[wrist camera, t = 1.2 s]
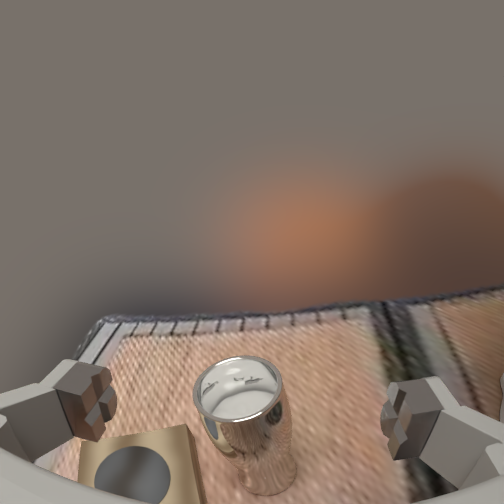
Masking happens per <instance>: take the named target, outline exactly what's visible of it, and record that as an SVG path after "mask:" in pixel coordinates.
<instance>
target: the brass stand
mask: <svg viewBox="0 0 504 504" xmlns="http://www.w3.org/2000/svg"><path fill="white" fill-rule="evenodd" d="M78 483H81V484H84V485H87V486H90V487H93V488H96V489H99V490H102V491H105V492H109V493H112V494H115V495H119V496H123V497H126V498H130V499H134V500H138V501H142V502H146V503H151V504H207V500H206V496H205V491H204V487H203V482H202V477H201V472H200V467H199V462H198V456H197V451H196V445H195V440H194V436H193V435H192V433H191V431H190V430H189V428H188V426H187V425H186V424H182V425H178V426H173V427H169V428H164V429H159V430H154V431H149V432H143V433H137V434H132V435H125V436H119V437H112V438H105V439H99V441H98V443H97V442H93V441H81V450H80V459H79V470H78Z"/></svg>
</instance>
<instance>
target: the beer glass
mask: <svg viewBox="0 0 504 504" xmlns="http://www.w3.org/2000/svg"><path fill="white" fill-rule="evenodd" d="M193 401H194V404H195V406H196V408H197V410H198V413H199V416H200V419H201V421H202V424H203V426H204V428H205V430H206V432H207V434H208V436H209V438H210V440H211V441H212V443H213V444H214V446H215V447H216V449H217V450H218V451H219V452H220V453H221V454H222V455H223V456H224V457H225V458H226V459H227V460H228V461H229V462H230V463H231V464H232V465H234V466H235V467H236V468H237V469H238V476H239V480H240V482H241V484H242V485H243V487H244V488H245V489H246V490H248V491H249V492H251V493H253V494H256V495H260V496H271V495H275V494H278V493H281V492H283V491H284V490H286V489H287V488H288V487H289V486H290V485H291V484H292V483H293V481H294V479H295V477H296V473H297V467H296V463H295V461H294V459H293V457H292V456H291V454H290V453H289V451H290V445H291V438H292V415H291V409H290V405H289V401H288V397H287V394H286V391H285V388H284V385H283V382H282V377H281V374H280V372H279V370H278V369H277V368H276V367H275V366H274V365H273V364H272V363H271V362H269V361H267V360H265V359H263V358H260V357H255V356H235V357H230V358H227V359H224V360H221V361H219V362H217V363H215V364H213V365H211V366H210V367H209V368H207V369H206V370H205V371H204V372H203V373H202V374H201V375H200V376H199V378H198V379H197V381H196V383H195V385H194V388H193Z"/></svg>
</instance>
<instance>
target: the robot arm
mask: <svg viewBox="0 0 504 504" xmlns="http://www.w3.org/2000/svg"><path fill="white" fill-rule="evenodd" d="M112 380H113V379H112V376H111V372H110V370H109V369H108V368H106V367H101V366H97V365H92V364H88V363H83V362H79V361H74V360H70V359H66V360H63V361H62V362H61V363H60V364H59V365H58V366H57V367H56V368H55V369H54V370H53V371H52V372H51V373H50V374H49V375H47V377H45V378H44V379H43V381H42V382H40V383H39V384H37V383H34V384H31V385H27V386H25V387H21V388H18V389H15V390H12V391H8V392H5V393H2V394H0V504H151V503H146V502H142V501H138V500H134V499H130V498H126V497H123V496H119V495H115V494H112V493H109V492H105V491H102V490H99V489H96V488H93V487H90V486H87V485H84V484H81V483H78V482H76V481H73V480H70V479H68V478H65V477H63V476H60V475H58V474H55V473H53V472H50V471H48V470H46V469H43V468H41V467H39V466H37V465H35V464H32V463H31V462H32V461H34V460H36V459H37V458H39V457H41V456H43V455H44V454H46V453H48V452H50V451H51V450H53V449H55V448H57V447H58V446H60V445H62V444H64V443H65V442H67V441H69V440H70V439H72V438H74V436H75V437H78V438H82V439H86V440H89V441H93V442H97V443H98V441H99V439H100V438H101V436H102V435H103V433H104V431H105V430H106V427H105V422H108V421H110V420H112V418H113V416H114V415H115V412H116V408H117V396H116V392H115V390H114V389H113V388H112V387H111V386H110V383H111V381H112ZM500 383H501V388H502V392H503V399H502V403H501V408H500V422H499V421H497V420H494V419H492V418H490V417H488V416H486V415H484V414H481V413H479V412H477V411H475V410H473V409H471V408H468V407H466V406H460V405H459V404H458V402H457V401H456V400H455V398H454V397H453V395H452V394H451V393H450V391H449V390H448V389H447V387H446V386H445V384H444V383H443V382H442V380H441V379H440V378H439V377H437V376H434V377H428V378H422V379H417V380H408V381H398V382H391V384H390V385H389V387H388V391H387V395H388V397H389V400H388V401H387V402H386V403H385V404H384V405H383V408H382V411H381V421H380V423H381V429H382V432H383V435H385V436H386V437H388V438H389V442H388V444H387V445H388V448H389V451H390V453H391V456H392V459H393V460H401V459H408V458H414V457H419V458H420V459H421V460H423V461H424V462H425V463H426V464H428V465H429V466H430V467H431V468H433V469H434V470H435V471H436V472H438V473H439V474H440V475H441V476H443V477H444V478H445V479H447V480H448V481H449V482H450V483H452V484H453V485H454V486H456V487H457V488H458V489H459V490H458V491H455V492H452V493H449V494H446V495H442V496H439V497H435V498H431V499H427V500H424V501H419V502H415V503H411V504H504V373H503V374H502V376H501V378H500Z"/></svg>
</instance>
